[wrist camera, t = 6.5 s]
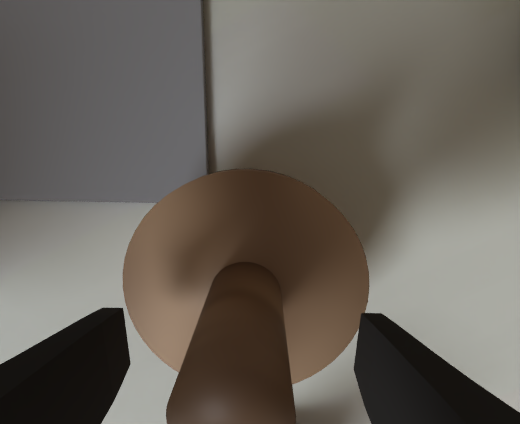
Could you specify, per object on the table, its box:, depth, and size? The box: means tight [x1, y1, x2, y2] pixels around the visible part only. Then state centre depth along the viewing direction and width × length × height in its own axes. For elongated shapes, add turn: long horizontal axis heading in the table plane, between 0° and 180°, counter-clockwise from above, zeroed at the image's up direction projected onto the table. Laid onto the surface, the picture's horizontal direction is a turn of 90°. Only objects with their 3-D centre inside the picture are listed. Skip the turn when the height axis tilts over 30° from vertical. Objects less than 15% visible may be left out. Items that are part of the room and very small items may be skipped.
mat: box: [0, 0, 208, 203], centre depth 11 cm, size 14×14×1 cm
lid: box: [123, 169, 369, 424], centre depth 8 cm, size 9×9×5 cm
